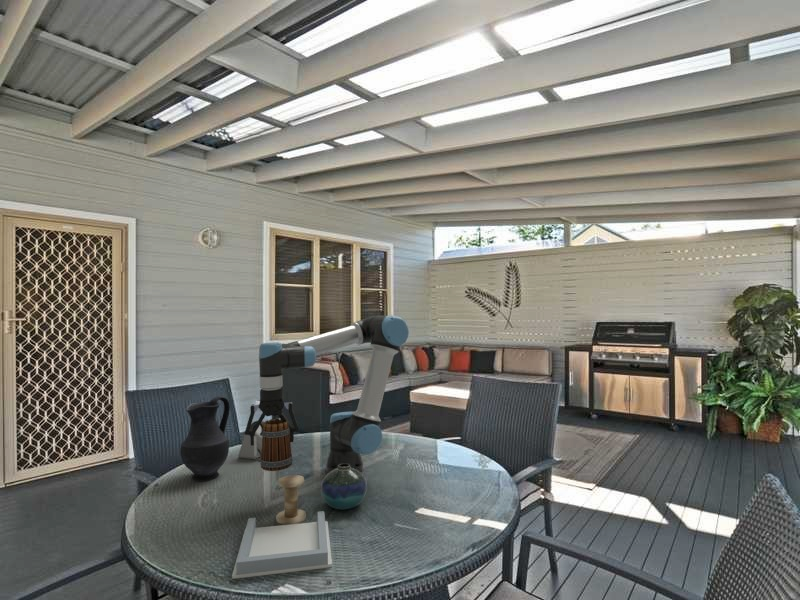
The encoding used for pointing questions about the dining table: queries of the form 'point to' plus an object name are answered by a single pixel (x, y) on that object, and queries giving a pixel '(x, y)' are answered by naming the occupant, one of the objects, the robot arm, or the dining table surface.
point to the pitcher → (206, 440)
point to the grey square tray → (283, 548)
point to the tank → (246, 447)
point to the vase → (343, 487)
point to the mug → (274, 445)
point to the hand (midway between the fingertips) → (272, 453)
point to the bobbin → (291, 500)
